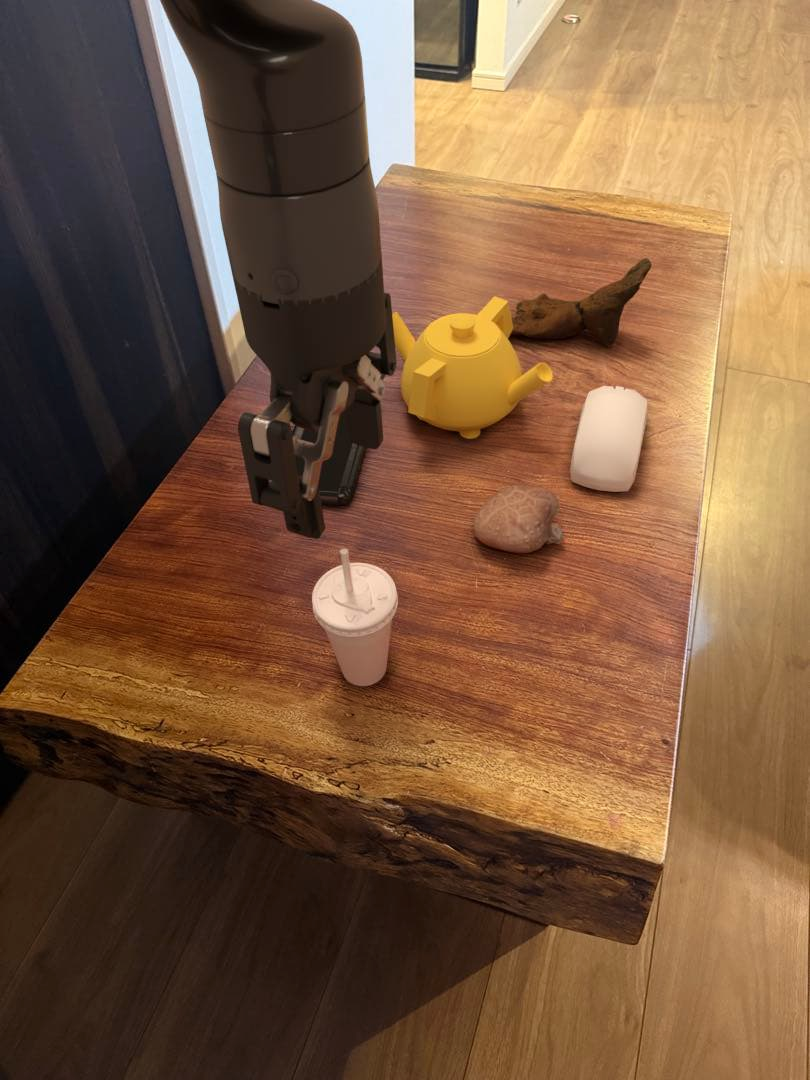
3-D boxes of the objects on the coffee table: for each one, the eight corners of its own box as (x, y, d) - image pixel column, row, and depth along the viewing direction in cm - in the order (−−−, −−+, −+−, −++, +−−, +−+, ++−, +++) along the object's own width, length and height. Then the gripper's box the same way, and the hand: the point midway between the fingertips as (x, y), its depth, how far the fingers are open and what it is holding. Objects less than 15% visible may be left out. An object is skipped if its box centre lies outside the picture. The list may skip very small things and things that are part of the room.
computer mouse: (646, 415, 89) (657, 367, 84) (631, 500, 81) (642, 451, 76) (585, 406, 90) (592, 358, 86) (564, 488, 82) (571, 440, 77)
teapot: (582, 394, 92) (595, 305, 83) (500, 493, 82) (505, 403, 74) (429, 339, 100) (427, 252, 91) (338, 423, 90) (326, 334, 82)
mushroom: (577, 514, 80) (504, 472, 81) (587, 500, 74) (508, 454, 75) (537, 582, 79) (463, 538, 80) (542, 573, 73) (463, 526, 74)
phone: (270, 491, 82) (305, 394, 91) (271, 499, 83) (307, 402, 92) (349, 498, 81) (377, 399, 90) (350, 506, 81) (377, 407, 91)
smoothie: (371, 622, 72) (357, 509, 62) (419, 670, 69) (413, 558, 58) (310, 663, 70) (285, 553, 59) (356, 715, 66) (339, 607, 56)
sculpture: (640, 269, 87) (506, 244, 92) (619, 365, 93) (494, 336, 98) (658, 255, 93) (531, 232, 99) (637, 346, 99) (518, 319, 104)
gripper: (305, 178, 47) (335, 406, 59) (160, 315, 38) (230, 548, 51) (430, 199, 45) (434, 431, 57) (305, 348, 36) (341, 583, 48)
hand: (338, 485), depth 54 cm, fingers open, 8 cm apart
